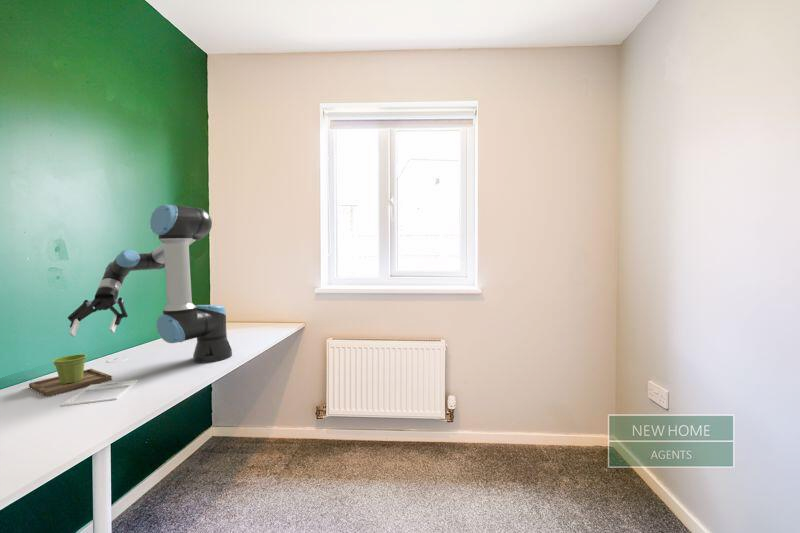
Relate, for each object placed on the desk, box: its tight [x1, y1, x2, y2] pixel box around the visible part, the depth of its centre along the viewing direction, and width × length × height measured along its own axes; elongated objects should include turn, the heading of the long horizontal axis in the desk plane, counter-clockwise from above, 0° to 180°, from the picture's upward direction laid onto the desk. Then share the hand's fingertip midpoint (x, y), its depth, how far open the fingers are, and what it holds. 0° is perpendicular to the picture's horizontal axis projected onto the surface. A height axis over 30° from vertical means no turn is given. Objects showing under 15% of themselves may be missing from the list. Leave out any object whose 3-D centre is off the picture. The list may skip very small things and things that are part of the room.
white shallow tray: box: [60, 379, 139, 407], centre depth 126 cm, size 15×1×18 cm
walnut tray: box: [28, 368, 113, 398], centre depth 136 cm, size 18×18×2 cm
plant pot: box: [51, 353, 88, 384], centre depth 136 cm, size 9×9×9 cm
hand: (91, 333), depth 149 cm, fingers open, 13 cm apart
